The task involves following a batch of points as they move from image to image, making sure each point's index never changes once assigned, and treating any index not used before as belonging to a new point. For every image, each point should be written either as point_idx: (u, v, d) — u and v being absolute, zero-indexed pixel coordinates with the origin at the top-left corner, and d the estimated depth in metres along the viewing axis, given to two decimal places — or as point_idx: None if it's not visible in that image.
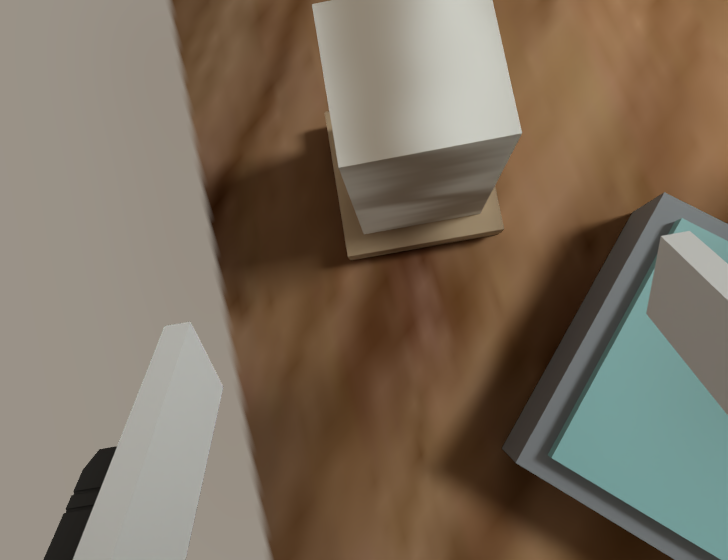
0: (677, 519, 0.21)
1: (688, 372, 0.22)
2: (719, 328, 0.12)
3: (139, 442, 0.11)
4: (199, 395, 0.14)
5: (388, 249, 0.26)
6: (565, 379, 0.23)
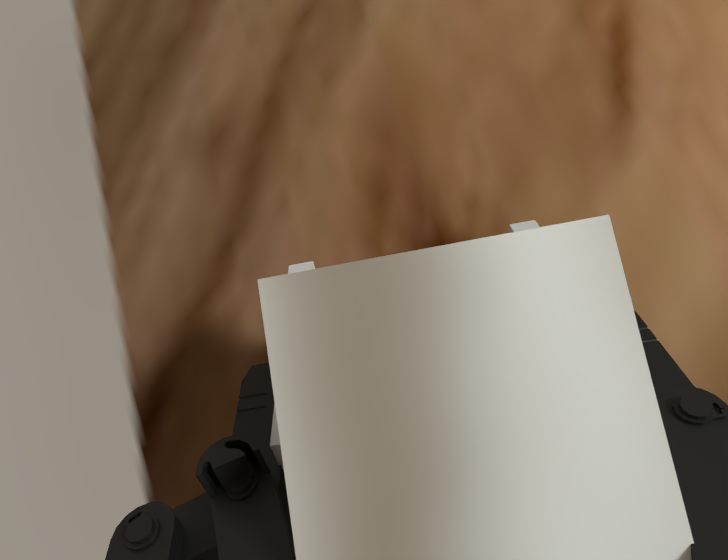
0: None
1: None
2: None
3: None
4: None
5: None
6: None
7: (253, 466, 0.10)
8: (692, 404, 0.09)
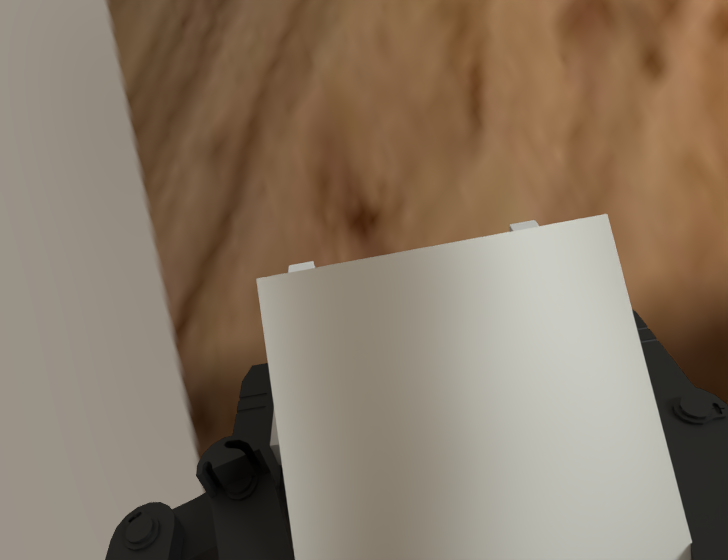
0: None
1: None
2: None
3: None
4: None
5: None
6: None
7: (253, 466, 0.10)
8: (692, 404, 0.09)
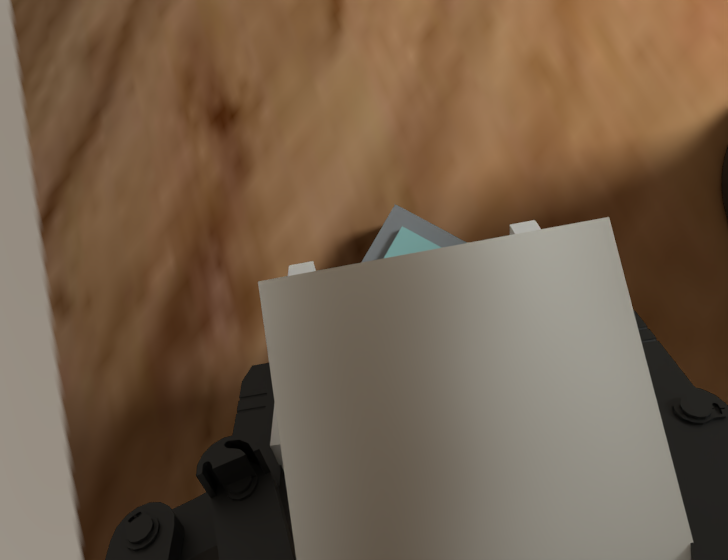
0: None
1: None
2: None
3: None
4: None
5: None
6: None
7: (253, 466, 0.10)
8: (692, 404, 0.09)
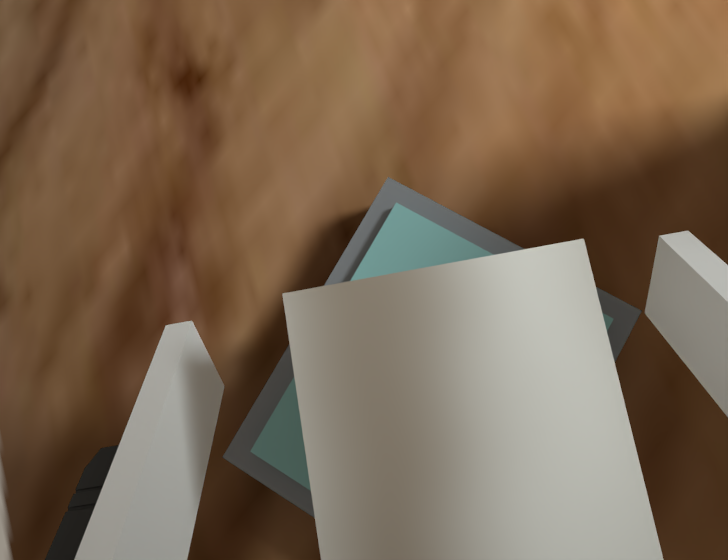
0: None
1: None
2: (717, 327, 0.12)
3: (141, 441, 0.11)
4: (200, 394, 0.14)
5: None
6: (277, 370, 0.22)
7: None
8: None
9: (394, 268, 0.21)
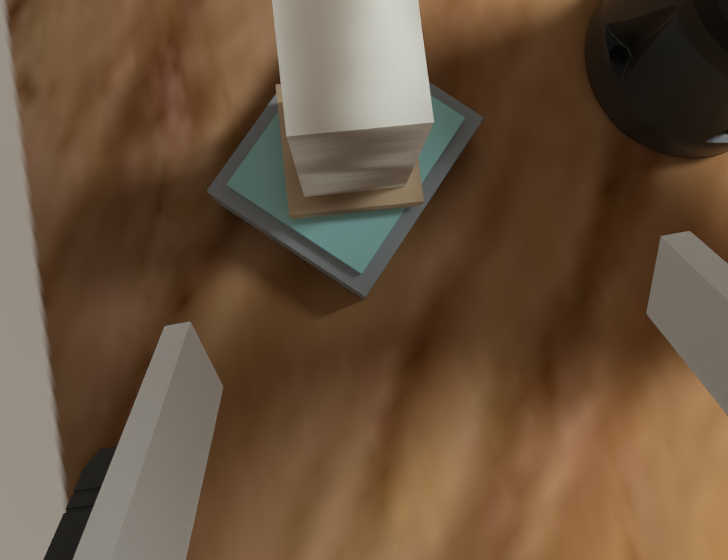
0: (304, 226, 0.31)
1: None
2: (719, 328, 0.12)
3: (139, 442, 0.11)
4: (199, 395, 0.14)
5: (325, 211, 0.30)
6: (247, 137, 0.32)
7: None
8: None
9: None
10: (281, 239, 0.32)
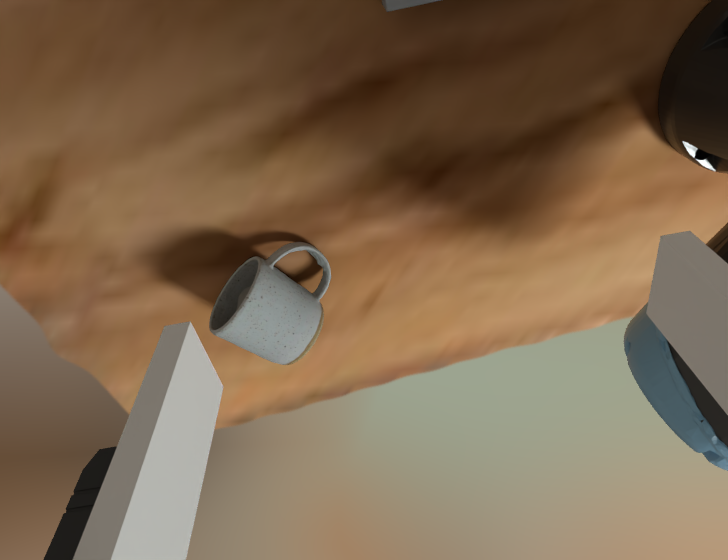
0: None
1: None
2: (720, 328, 0.12)
3: (139, 442, 0.11)
4: (199, 395, 0.14)
5: None
6: None
7: None
8: None
9: None
10: None
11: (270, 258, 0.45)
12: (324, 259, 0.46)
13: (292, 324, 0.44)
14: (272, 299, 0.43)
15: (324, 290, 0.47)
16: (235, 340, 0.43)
